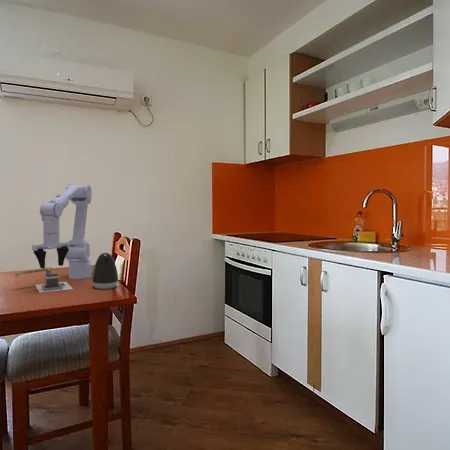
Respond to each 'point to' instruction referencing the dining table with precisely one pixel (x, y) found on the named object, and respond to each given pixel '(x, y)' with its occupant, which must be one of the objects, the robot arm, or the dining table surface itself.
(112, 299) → the dining table surface
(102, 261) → the black rounded cone
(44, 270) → the lever handle
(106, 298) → the dining table surface
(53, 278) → the plug
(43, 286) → the lever mounting base
